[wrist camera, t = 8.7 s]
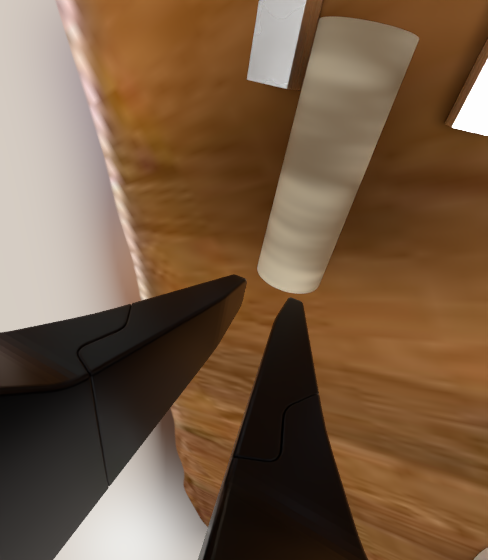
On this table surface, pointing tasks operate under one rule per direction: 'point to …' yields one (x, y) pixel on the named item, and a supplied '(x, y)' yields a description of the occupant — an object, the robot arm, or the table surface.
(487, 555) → the joystick
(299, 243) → the maple axle
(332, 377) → the table surface
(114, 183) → the table surface
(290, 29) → the steel guide
